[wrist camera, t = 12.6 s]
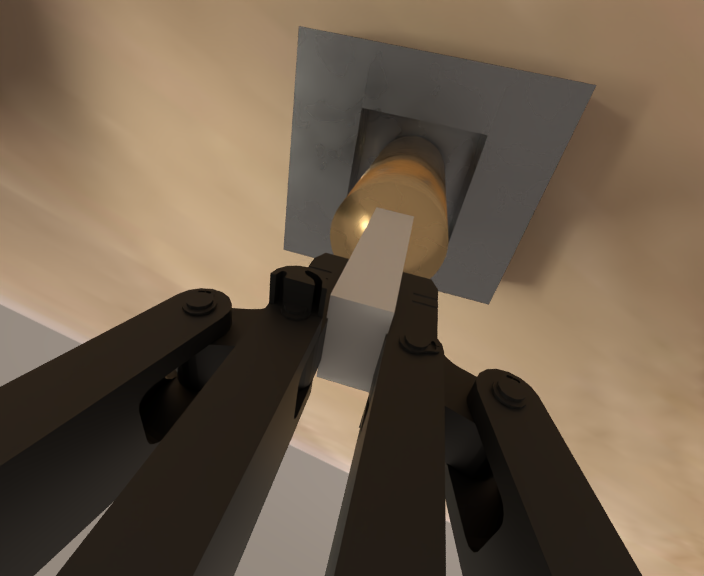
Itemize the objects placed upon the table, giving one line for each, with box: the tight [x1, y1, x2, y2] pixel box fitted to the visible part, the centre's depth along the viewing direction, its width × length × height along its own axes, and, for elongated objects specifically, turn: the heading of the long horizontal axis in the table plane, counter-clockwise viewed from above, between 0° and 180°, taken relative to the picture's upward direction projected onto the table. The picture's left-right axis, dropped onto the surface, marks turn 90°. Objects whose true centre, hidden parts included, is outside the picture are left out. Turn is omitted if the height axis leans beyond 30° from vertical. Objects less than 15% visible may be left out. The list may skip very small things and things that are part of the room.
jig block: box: [284, 26, 596, 304], centre depth 23 cm, size 16×14×4 cm
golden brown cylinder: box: [330, 136, 448, 279], centre depth 19 cm, size 5×5×12 cm
